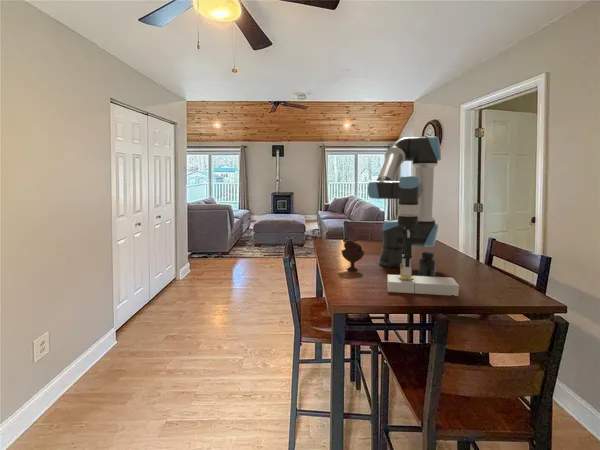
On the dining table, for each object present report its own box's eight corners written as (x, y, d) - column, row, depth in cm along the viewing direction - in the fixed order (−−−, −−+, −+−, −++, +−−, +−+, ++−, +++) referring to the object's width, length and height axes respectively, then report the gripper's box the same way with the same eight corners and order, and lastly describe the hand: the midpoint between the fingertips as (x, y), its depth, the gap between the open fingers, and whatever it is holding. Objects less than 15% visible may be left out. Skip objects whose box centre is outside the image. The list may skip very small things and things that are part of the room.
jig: (387, 283, 159) (387, 274, 158) (452, 287, 153) (452, 277, 153) (387, 291, 147) (388, 281, 147) (458, 295, 142) (458, 285, 141)
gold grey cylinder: (398, 286, 154) (399, 262, 153) (411, 287, 153) (412, 263, 152) (399, 289, 150) (400, 265, 149) (412, 290, 149) (413, 265, 148)
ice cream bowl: (354, 274, 176) (354, 242, 174) (336, 269, 184) (336, 239, 182) (368, 270, 183) (369, 239, 181) (350, 266, 191) (351, 237, 189)
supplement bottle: (436, 282, 161) (437, 254, 160) (419, 281, 162) (420, 254, 161) (433, 278, 168) (434, 251, 166) (417, 277, 169) (418, 251, 168)
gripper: (396, 213, 159) (395, 266, 161) (399, 217, 139) (397, 278, 141) (415, 213, 157) (413, 267, 160) (420, 217, 137) (418, 279, 140)
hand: (405, 272), depth 151 cm, fingers open, 8 cm apart
